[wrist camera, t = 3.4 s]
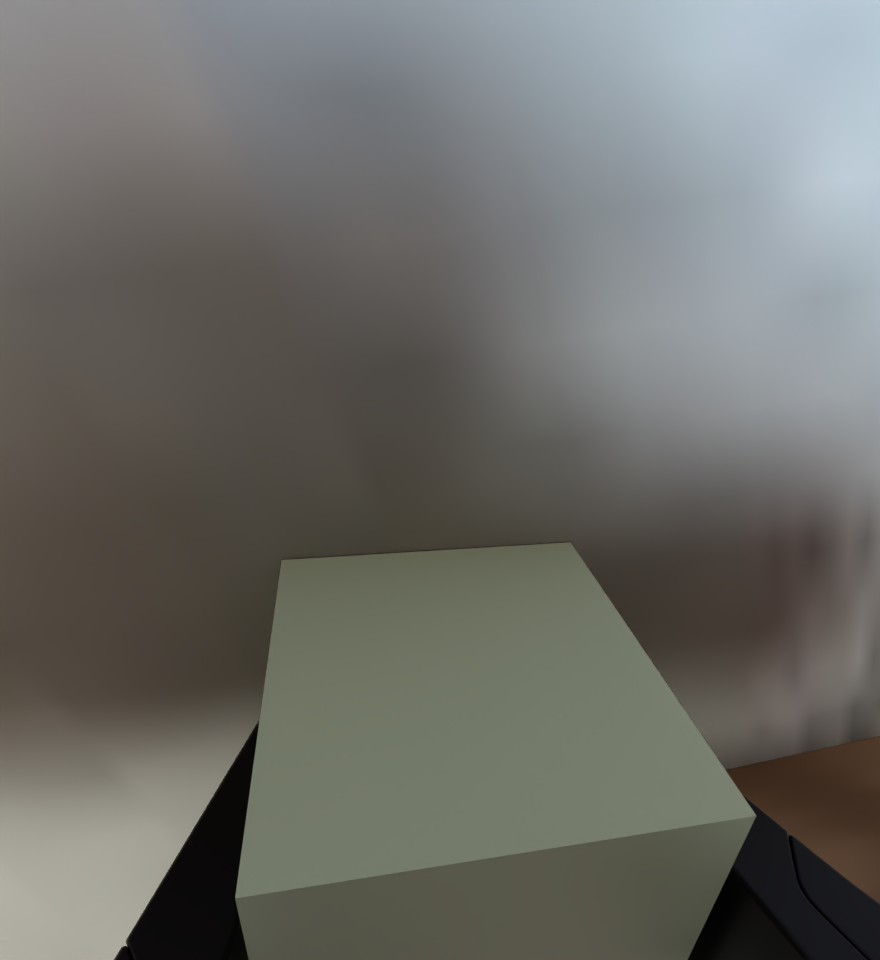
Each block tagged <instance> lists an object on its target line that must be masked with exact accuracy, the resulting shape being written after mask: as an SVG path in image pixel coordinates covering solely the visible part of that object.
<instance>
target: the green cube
mask: <svg viewBox="0 0 880 960" xmlns="http://www.w3.org/2000/svg"><path fill="white" fill-rule="evenodd" d="M755 818H756V814H755V813H754V811H753V810H752V809H751V807H750V806H749V804H748V803H747V801H746V800H745V798H744V797H743V795H742V794H741V792H740V791H739V789H738V788H737V786H736V785H735V783H734V782H733V781H732V779H731V778H730V776H729V775H728V773H727V772H726V770H725V769H724V767H723V766H722V764H721V763H720V761H719V760H718V758H717V757H716V756H715V754H714V753H713V751H712V750H711V748H710V747H709V745H708V744H707V742H706V741H705V739H704V738H703V736H702V735H701V733H700V732H699V730H698V729H697V728H696V726H695V725H694V723H693V722H692V720H691V719H690V717H689V716H688V714H687V713H686V711H685V710H684V708H683V707H682V705H681V704H680V703H679V701H678V700H677V698H676V697H675V695H674V694H673V692H672V691H671V689H670V688H669V686H668V685H667V683H666V682H665V680H664V679H663V677H662V676H661V675H660V673H659V672H658V670H657V669H656V667H655V666H654V664H653V663H652V661H651V660H650V658H649V657H648V655H647V654H646V652H645V651H644V650H643V648H642V647H641V645H640V644H639V642H638V641H637V639H636V638H635V636H634V635H633V633H632V632H631V630H630V629H629V627H628V626H627V624H626V623H625V622H624V620H623V619H622V617H621V616H620V614H619V613H618V611H617V610H616V608H615V607H614V605H613V604H612V602H611V601H610V599H609V598H608V597H607V595H606V594H605V592H604V591H603V589H602V588H601V586H600V585H599V583H598V582H597V580H596V579H595V577H594V576H593V574H592V573H591V571H590V570H589V569H588V567H587V566H586V564H585V563H584V561H583V560H582V558H581V557H580V555H579V554H578V552H577V551H576V549H575V548H574V546H573V545H572V544H571V542H567V543H550V544H534V545H518V546H502V547H485V548H469V549H453V550H436V551H420V552H404V553H388V554H371V555H355V556H339V557H322V558H306V559H290V560H281V568H280V575H279V582H278V589H277V597H276V604H275V611H274V619H273V626H272V633H271V640H270V648H269V655H268V662H267V669H266V677H265V684H264V691H263V699H262V706H261V713H260V720H259V728H258V735H257V742H256V750H255V757H254V764H253V771H252V779H251V786H250V793H249V801H248V808H247V815H246V822H245V830H244V837H243V844H242V852H241V859H240V866H239V873H238V881H237V888H236V895H235V900H236V905H237V909H238V914H239V918H240V923H241V927H242V932H243V936H244V941H245V945H246V950H247V954H248V959H249V960H688V958H689V956H690V953H691V951H692V949H693V947H694V945H695V943H696V941H697V939H698V937H699V935H700V933H701V930H702V928H703V926H704V924H705V922H706V920H707V918H708V916H709V914H710V912H711V910H712V908H713V905H714V903H715V901H716V899H717V897H718V895H719V893H720V891H721V889H722V887H723V885H724V882H725V880H726V878H727V876H728V874H729V872H730V870H731V868H732V866H733V864H734V862H735V860H736V857H737V855H738V853H739V851H740V849H741V847H742V845H743V843H744V841H745V839H746V837H747V835H748V832H749V830H750V828H751V826H752V824H753V822H754V820H755Z"/></svg>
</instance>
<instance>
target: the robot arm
mask: <svg viewBox="0 0 880 960" xmlns="http://www.w3.org/2000/svg"><path fill="white" fill-rule="evenodd" d="M258 728H259V721H258V723H257V724H256V726H255V728H254V729H253V731H252V733H251V734H250V736H249V738H248V739H247V741H246V743H245V744H244V746H243V748H242V749H241V751H240V752H239V754H238V756H237V757H236V759H235V761H234V762H233V764H232V766H231V767H230V769H229V771H228V772H227V774H226V776H225V777H224V779H223V781H222V782H221V784H220V786H219V787H218V789H217V791H216V792H215V794H214V796H213V797H212V799H211V801H210V802H209V804H208V805H207V807H206V809H205V810H204V812H203V814H202V815H201V817H200V819H199V820H198V822H197V824H196V825H195V827H194V829H193V830H192V832H191V834H190V835H189V837H188V839H187V840H186V842H185V844H184V845H183V847H182V849H181V850H180V852H179V853H178V855H177V857H176V858H175V860H174V862H173V863H172V865H171V867H170V868H169V870H168V872H167V873H166V875H165V877H164V878H163V880H162V882H161V883H160V885H159V887H158V888H157V890H156V892H155V893H154V895H153V897H152V898H151V900H150V902H149V903H148V905H147V906H146V908H145V910H144V911H143V913H142V915H141V916H140V918H139V920H138V921H137V923H136V925H135V926H134V928H133V930H132V931H131V933H130V935H129V936H128V938H127V940H126V944H127V946H123V947H122V948H121V949H120V951H119V952H118V954H117V956H116V957H115V959H114V960H249V959H248V954H247V950H246V945H245V941H244V936H243V932H242V927H241V923H240V918H239V914H238V909H237V905H236V900H235V895H236V888H237V881H238V873H239V866H240V859H241V852H242V844H243V837H244V830H245V822H246V815H247V808H248V801H249V793H250V786H251V779H252V771H253V764H254V757H255V750H256V742H257V735H258ZM742 795H743V794H742ZM743 797H744V798H745V800H746V801H747V803H748V804H749V806H750V807H751V809H752V810H753V811H754V813H755V814H756V818H755V820H754V822H753V824H752V826H751V828H750V830H749V832H748V835H747V837H746V839H745V841H744V843H743V845H742V847H741V849H740V851H739V853H738V855H737V857H736V860H735V862H734V864H733V866H732V868H731V870H730V872H729V874H728V876H727V878H726V880H725V882H724V885H723V887H722V889H721V891H720V893H719V895H718V897H717V899H716V901H715V903H714V905H713V908H712V910H711V912H710V914H709V916H708V918H707V920H706V922H705V924H704V926H703V928H702V930H701V933H700V935H699V937H698V939H697V941H696V943H695V945H694V947H693V949H692V951H691V953H690V956H689V958H688V960H880V903H879V902H877V901H876V900H875V899H873V898H872V897H870V896H869V895H868V894H866V893H865V892H864V891H862V890H861V889H860V888H858V887H857V886H856V885H854V884H853V883H852V882H850V881H849V880H848V879H847V878H845V877H844V876H843V875H842V874H840V873H839V872H838V871H836V870H835V869H834V868H833V867H831V866H830V865H829V864H828V863H826V862H825V861H824V860H823V859H821V858H820V857H819V856H817V855H816V854H815V853H814V852H813V851H811V850H810V849H809V848H808V847H806V846H805V845H804V844H803V843H802V842H800V841H799V840H798V839H797V838H795V837H794V836H793V835H788V832H787V831H786V830H785V829H784V828H783V827H782V826H781V825H779V824H778V823H777V822H776V821H774V820H773V819H772V818H771V817H770V816H768V815H767V814H766V813H765V812H763V811H762V810H761V809H760V808H759V807H757V806H756V805H755V804H754V803H752V802H751V801H750V800H749V799H748V798H746V797H745V796H744V795H743Z"/></svg>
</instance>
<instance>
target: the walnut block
mask: <svg viewBox="0 0 880 960" xmlns="http://www.w3.org/2000/svg"><path fill="white" fill-rule="evenodd" d="M726 772H727V773H728V775H729V776H730V778H731V779H732V781H733V782H734V783H735V785H736V786H737V788H738V789H739V791H740V792H741V794H743V795H744V796H745V797H746V798H748V799H749V800H750V801H751V802H752V803H754V804H755V805H756V806H757V807H759V808H760V809H761V810H762V811H763V812H765V813H766V814H767V815H768V816H770V817H771V818H772V819H773V820H774V821H776V822H777V823H778V824H779V825H781V826H782V827H783V828H784V829H785V830H786V831H787V832H788V835H793V836H794V837H795V838H797V839H798V840H799V841H800V842H802V843H803V844H804V845H805V846H806V847H808V848H809V849H810V850H811V851H813V852H814V853H815V854H816V855H817V856H819V857H820V858H821V859H823V860H824V861H825V862H826V863H828V864H829V865H830V866H831V867H833V868H834V869H835V870H836V871H838V872H839V873H840V874H842V875H843V876H844V877H845V878H847V879H848V880H849V881H850V882H852V883H853V884H854V885H856V886H857V887H858V888H860V889H861V890H862V891H864V892H865V893H866V894H868V895H869V896H870V897H872V898H873V899H875V900H876V901H877V902H879V903H880V736H878V737H874V738H869V739H865V740H860V741H856V742H851V743H847V744H842V745H838V746H833V747H828V748H824V749H819V750H815V751H810V752H806V753H801V754H797V755H792V756H788V757H783V758H779V759H774V760H769V761H765V762H760V763H756V764H751V765H747V766H742V767H738V768H733V769H729V770H726Z"/></svg>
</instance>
